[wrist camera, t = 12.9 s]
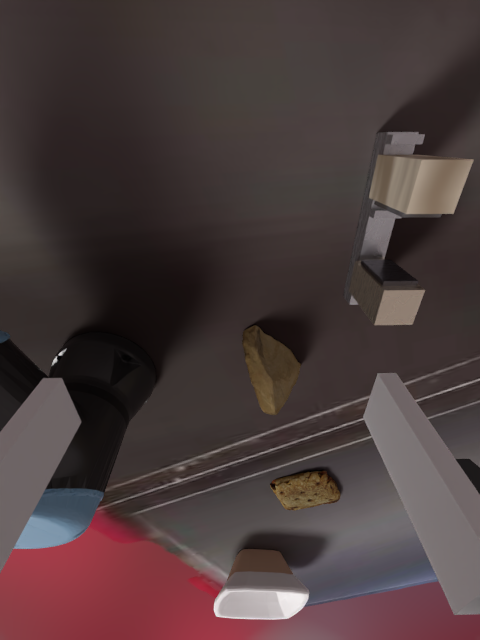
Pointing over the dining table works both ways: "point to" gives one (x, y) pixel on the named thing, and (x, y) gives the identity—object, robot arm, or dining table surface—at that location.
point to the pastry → (305, 490)
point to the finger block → (418, 184)
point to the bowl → (260, 588)
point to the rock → (269, 369)
